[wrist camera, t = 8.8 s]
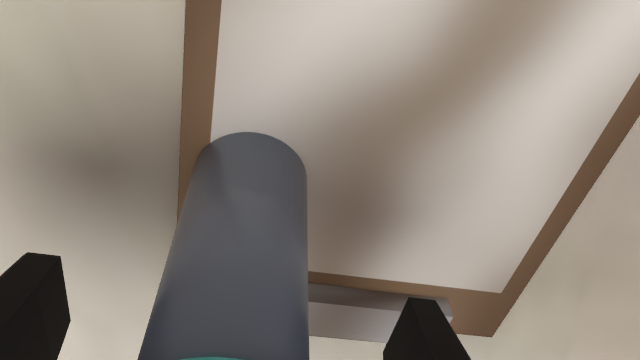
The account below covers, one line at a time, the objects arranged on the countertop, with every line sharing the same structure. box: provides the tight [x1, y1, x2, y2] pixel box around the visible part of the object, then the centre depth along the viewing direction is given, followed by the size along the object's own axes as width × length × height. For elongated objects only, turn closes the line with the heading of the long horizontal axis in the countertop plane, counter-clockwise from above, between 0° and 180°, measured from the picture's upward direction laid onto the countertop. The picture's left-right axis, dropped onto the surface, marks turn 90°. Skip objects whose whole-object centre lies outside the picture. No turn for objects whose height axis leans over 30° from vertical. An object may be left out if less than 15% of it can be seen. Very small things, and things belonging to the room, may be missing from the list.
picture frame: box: [177, 0, 640, 343], centre depth 14 cm, size 12×16×1 cm
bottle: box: [138, 132, 309, 360], centre depth 11 cm, size 3×3×8 cm
